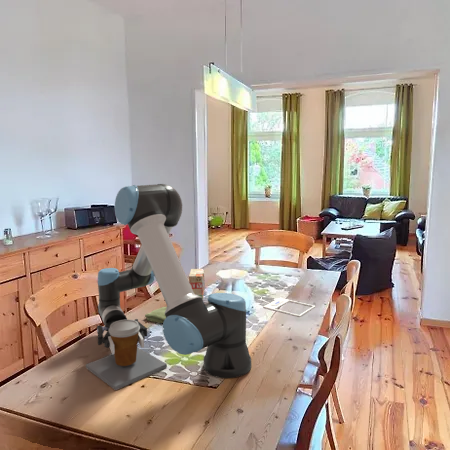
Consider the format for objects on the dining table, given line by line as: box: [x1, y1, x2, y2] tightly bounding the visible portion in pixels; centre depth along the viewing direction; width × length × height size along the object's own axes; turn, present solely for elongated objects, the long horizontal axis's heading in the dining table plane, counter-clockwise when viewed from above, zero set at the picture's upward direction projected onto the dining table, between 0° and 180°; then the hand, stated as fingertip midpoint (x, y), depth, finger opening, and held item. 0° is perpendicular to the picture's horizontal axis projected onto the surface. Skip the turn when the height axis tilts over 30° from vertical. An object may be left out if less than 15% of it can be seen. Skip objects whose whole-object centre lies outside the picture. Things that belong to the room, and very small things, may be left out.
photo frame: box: [262, 297, 316, 318], centre depth 179 cm, size 15×1×18 cm
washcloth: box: [144, 306, 167, 324], centre depth 167 cm, size 13×18×3 cm
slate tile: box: [85, 346, 168, 391], centre depth 127 cm, size 18×18×1 cm
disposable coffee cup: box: [109, 319, 140, 366], centre depth 126 cm, size 10×10×12 cm
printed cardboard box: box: [188, 268, 206, 301], centre depth 197 cm, size 21×6×12 cm, turn 0°
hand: (128, 346), depth 122 cm, fingers closed on disposable coffee cup, 8 cm apart
